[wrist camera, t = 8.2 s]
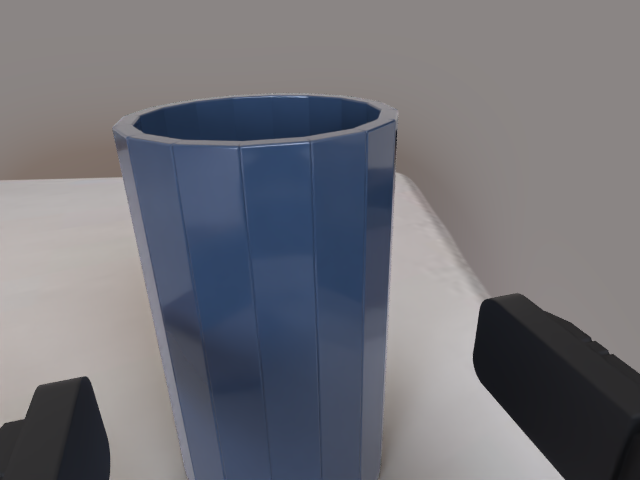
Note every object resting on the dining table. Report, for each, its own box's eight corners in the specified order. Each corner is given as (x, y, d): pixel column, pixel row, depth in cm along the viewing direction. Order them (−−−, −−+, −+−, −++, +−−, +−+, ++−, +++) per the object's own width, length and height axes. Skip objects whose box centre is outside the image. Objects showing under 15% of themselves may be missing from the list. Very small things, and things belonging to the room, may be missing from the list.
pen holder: (147, 478, 15) (53, 124, 10) (272, 366, 19) (248, 89, 14) (310, 600, 11) (285, 163, 7) (411, 429, 16) (439, 101, 11)
